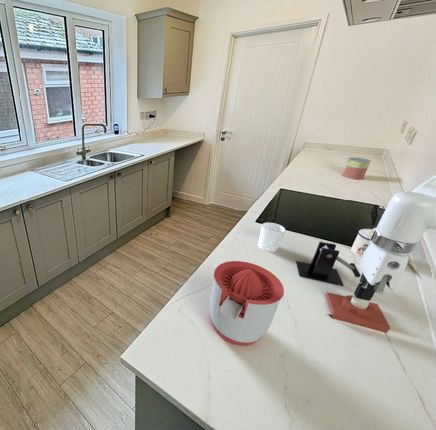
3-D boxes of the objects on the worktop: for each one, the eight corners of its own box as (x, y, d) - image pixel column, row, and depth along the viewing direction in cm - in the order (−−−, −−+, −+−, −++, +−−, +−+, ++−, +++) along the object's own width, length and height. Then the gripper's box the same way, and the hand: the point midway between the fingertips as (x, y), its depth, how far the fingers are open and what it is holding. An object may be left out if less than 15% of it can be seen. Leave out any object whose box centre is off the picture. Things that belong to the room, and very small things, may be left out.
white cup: (266, 256, 101) (273, 233, 96) (251, 245, 108) (257, 224, 103) (283, 252, 103) (290, 230, 98) (267, 242, 110) (273, 221, 105)
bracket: (335, 272, 92) (348, 243, 86) (342, 288, 85) (356, 258, 79) (295, 263, 96) (305, 236, 91) (298, 278, 89) (309, 249, 84)
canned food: (344, 173, 187) (351, 156, 182) (365, 176, 180) (372, 159, 174) (340, 176, 181) (346, 159, 176) (361, 180, 173) (368, 162, 168)
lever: (350, 268, 88) (357, 263, 86) (356, 278, 83) (363, 274, 82) (318, 246, 89) (324, 241, 88) (322, 255, 84) (328, 251, 83)
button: (364, 302, 74) (366, 297, 74) (368, 311, 72) (371, 306, 71) (348, 298, 76) (350, 294, 75) (352, 307, 73) (354, 302, 72)
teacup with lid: (352, 258, 99) (365, 231, 93) (346, 246, 106) (358, 220, 100) (394, 267, 93) (411, 239, 88) (386, 253, 101) (400, 227, 95)
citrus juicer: (190, 331, 71) (200, 273, 62) (220, 298, 82) (232, 244, 73) (250, 371, 61) (272, 309, 52) (275, 327, 72) (296, 269, 63)
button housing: (374, 309, 77) (380, 299, 75) (386, 333, 69) (393, 322, 68) (324, 297, 81) (329, 287, 79) (331, 318, 74) (336, 308, 72)
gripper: (429, 262, 57) (390, 322, 65) (398, 230, 69) (369, 284, 77) (384, 254, 60) (352, 312, 68) (362, 225, 72) (337, 277, 80)
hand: (361, 297), depth 72 cm, fingers closed
